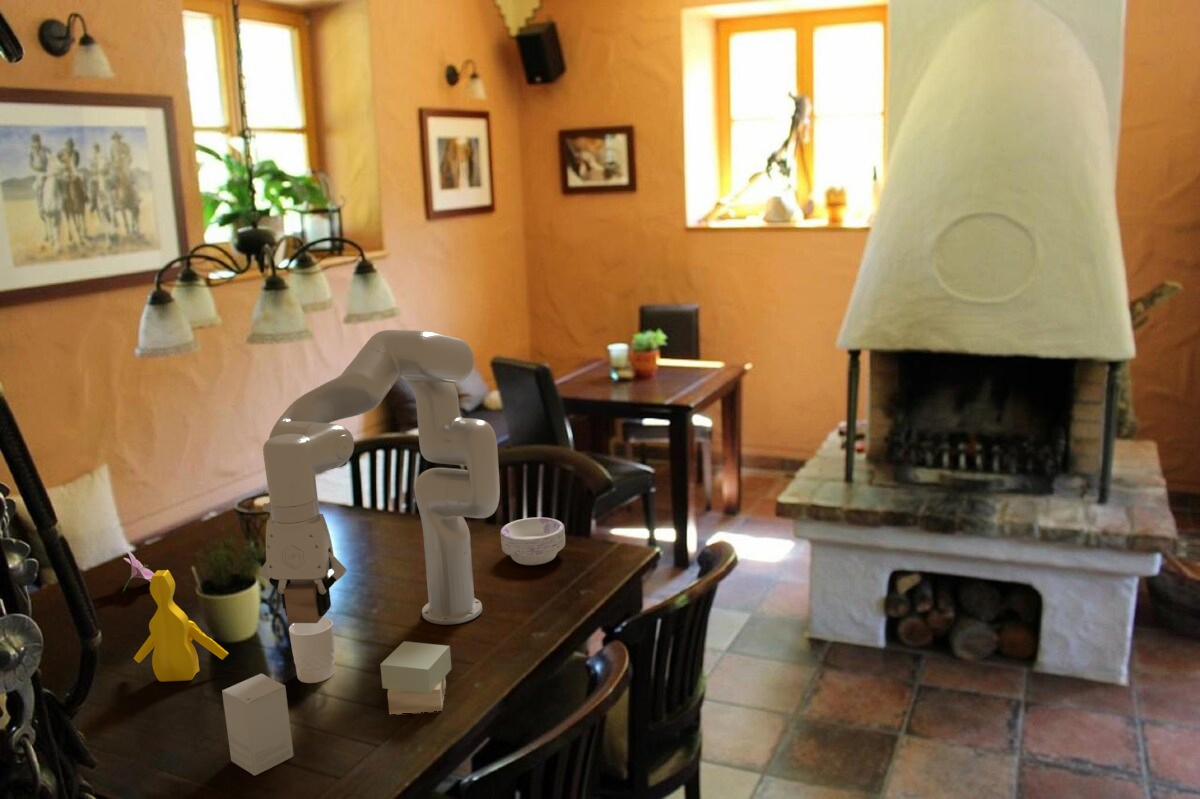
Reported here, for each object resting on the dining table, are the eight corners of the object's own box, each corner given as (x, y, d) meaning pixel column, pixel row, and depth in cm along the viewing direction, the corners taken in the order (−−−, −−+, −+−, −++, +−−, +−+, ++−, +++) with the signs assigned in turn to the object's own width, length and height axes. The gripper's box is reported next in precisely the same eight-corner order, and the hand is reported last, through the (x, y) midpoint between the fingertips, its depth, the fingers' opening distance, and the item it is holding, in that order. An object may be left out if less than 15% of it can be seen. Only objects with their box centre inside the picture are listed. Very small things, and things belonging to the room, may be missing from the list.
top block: (405, 664, 189) (403, 641, 188) (451, 669, 187) (449, 645, 186) (382, 688, 181) (380, 664, 180) (430, 693, 179) (428, 669, 178)
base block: (396, 690, 189) (394, 668, 188) (446, 687, 190) (444, 664, 189) (389, 716, 180) (387, 692, 179) (441, 713, 181) (440, 689, 180)
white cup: (320, 661, 201) (315, 613, 199) (346, 672, 196) (341, 623, 194) (285, 677, 195) (280, 627, 193) (311, 689, 190) (305, 638, 188)
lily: (142, 606, 232) (160, 565, 233) (93, 587, 232) (111, 546, 233) (163, 601, 244) (179, 562, 245) (116, 582, 244) (132, 544, 245)
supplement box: (295, 756, 169) (287, 685, 166) (253, 777, 163) (244, 704, 160) (270, 741, 173) (262, 671, 171) (229, 761, 168) (220, 689, 165)
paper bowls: (489, 559, 250) (487, 527, 248) (538, 542, 260) (537, 512, 258) (529, 576, 239) (527, 543, 237) (579, 557, 248) (577, 526, 247)
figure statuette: (233, 665, 201) (220, 557, 196) (220, 685, 193) (206, 573, 188) (141, 669, 201) (125, 561, 196) (123, 689, 193) (106, 578, 188)
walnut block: (299, 609, 177) (295, 576, 176) (328, 609, 177) (324, 577, 175) (288, 622, 172) (283, 589, 171) (317, 623, 172) (312, 589, 170)
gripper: (235, 518, 167) (249, 622, 172) (337, 518, 165) (349, 623, 170) (255, 502, 175) (268, 602, 179) (353, 502, 172) (364, 603, 177)
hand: (307, 611), depth 174 cm, fingers closed on walnut block, 5 cm apart
